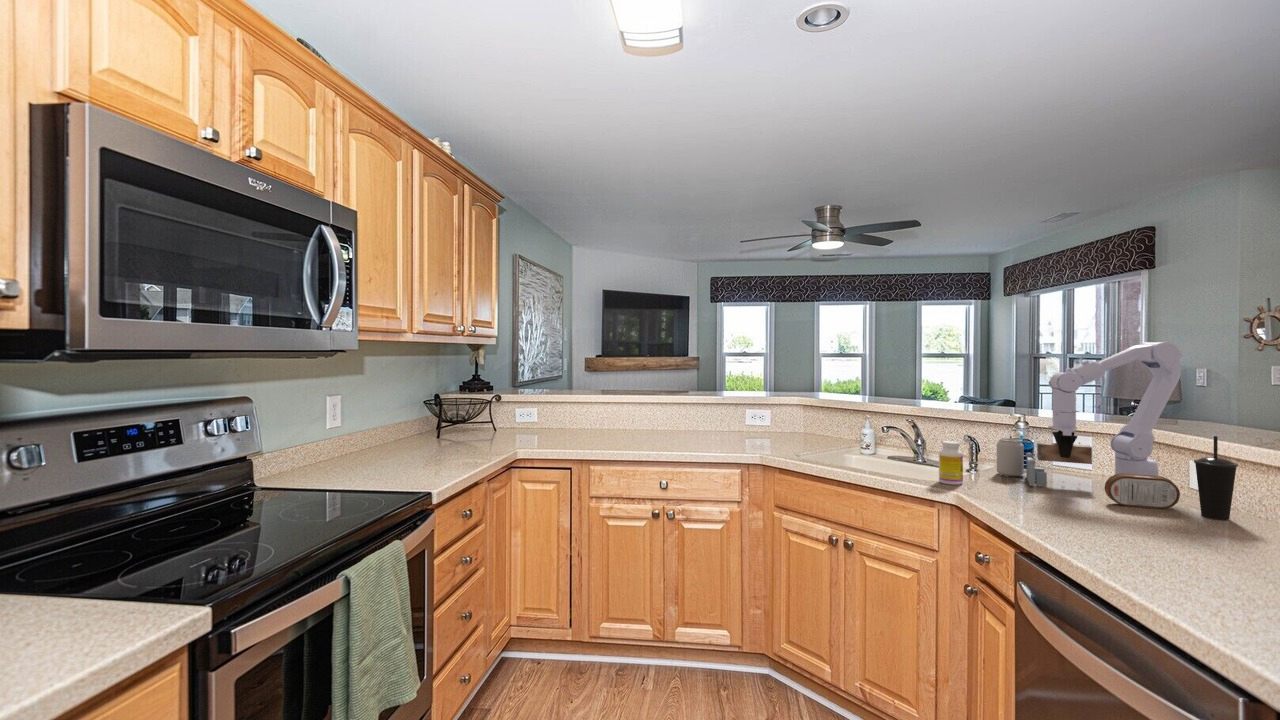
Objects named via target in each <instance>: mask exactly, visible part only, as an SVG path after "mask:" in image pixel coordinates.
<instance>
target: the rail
mask: <svg viewBox="0 0 1280 720" xmlns="http://www.w3.org/2000/svg"><path fill="white" fill-rule="evenodd" d="M1036 445H1037V449H1036V450H1037V451H1036V452H1037V453H1036V454H1037V456H1036V457H1037V458H1036V459H1037V460H1038V461H1044V462H1055V463H1056V462H1058V463H1070V464H1071V463H1072V464H1082V465H1083V464H1084V465H1085V464H1086V465H1092V464H1093V447H1092V446H1091V445H1090V444H1089V445H1087V444H1073V447H1072V451H1071V455H1070V458H1063V457H1061V456H1060V452H1059V446H1058V443H1056V442H1055V443H1054V442H1041V441H1037V442H1036Z"/></svg>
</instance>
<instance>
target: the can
mask: <svg viewBox="0 0 1280 720" xmlns="http://www.w3.org/2000/svg"><path fill="white" fill-rule="evenodd" d="M998 440H999V441H997V442H996V473H998V474H999V475H1000V474H1001V475H1000V476H1002V475H1005V476H1004V477H1008V476H1020V477H1022V476H1023V475H1024V474H1025V472H1024V471H1025V469H1024V468H1025V466H1024V465H1025V462H1024V461H1025V459H1024V457H1025V456H1024V455H1025V453H1024V452H1025V449H1024V447H1025V445H1024V444H1023V443H1022V439H1018V438H1012V437H1011V438H1009V437H1002V438H998Z"/></svg>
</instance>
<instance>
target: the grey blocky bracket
mask: <svg viewBox="0 0 1280 720" xmlns="http://www.w3.org/2000/svg"><path fill="white" fill-rule="evenodd" d="M1025 457H1026V480H1027V483H1028V482H1029V483H1028V486H1029V485H1030V486H1034V487H1033V488H1035V487H1036V485H1042V486H1041V487H1044V486H1048V485H1047V484H1048V482H1047V479H1048V476H1047V474H1048V473H1047V472H1045V468H1044V467H1037V466H1036V465H1035V464H1036V463H1037V461H1036V460H1035V459H1033V458H1032V457H1033V454H1032V453H1031V452H1026V453H1025ZM1035 480H1036V481H1035ZM1035 484H1036V485H1035ZM1030 486H1029V487H1030Z"/></svg>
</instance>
